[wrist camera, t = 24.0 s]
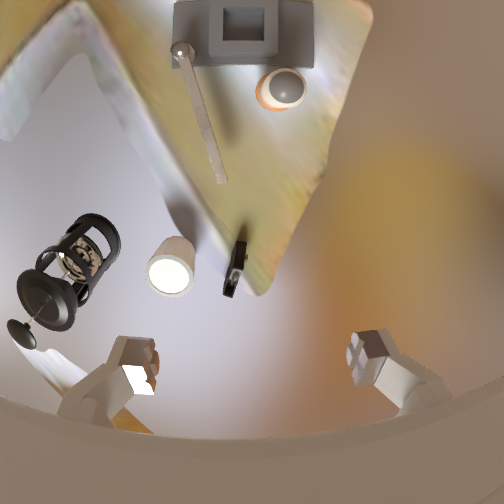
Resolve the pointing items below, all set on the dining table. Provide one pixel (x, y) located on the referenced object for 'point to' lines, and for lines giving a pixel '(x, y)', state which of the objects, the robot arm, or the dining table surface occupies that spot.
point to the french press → (58, 290)
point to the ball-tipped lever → (199, 109)
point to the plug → (281, 89)
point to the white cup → (172, 267)
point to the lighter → (235, 268)
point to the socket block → (245, 32)
